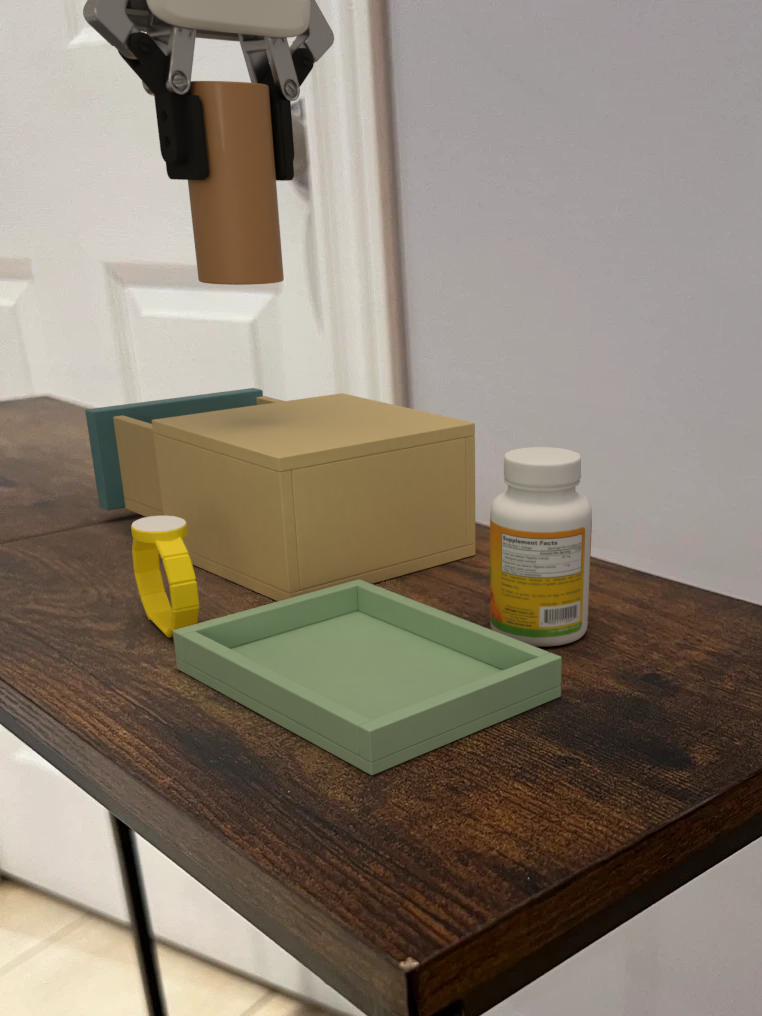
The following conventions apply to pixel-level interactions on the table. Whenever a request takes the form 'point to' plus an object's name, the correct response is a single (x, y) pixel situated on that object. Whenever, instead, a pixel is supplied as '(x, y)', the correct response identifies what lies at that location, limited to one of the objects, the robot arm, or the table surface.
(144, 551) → the watch
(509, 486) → the supplement bottle
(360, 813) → the table surface
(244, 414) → the cabinet
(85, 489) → the table surface
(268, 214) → the paper roll
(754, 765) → the table surface
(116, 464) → the drawer
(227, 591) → the table surface
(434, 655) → the tray
